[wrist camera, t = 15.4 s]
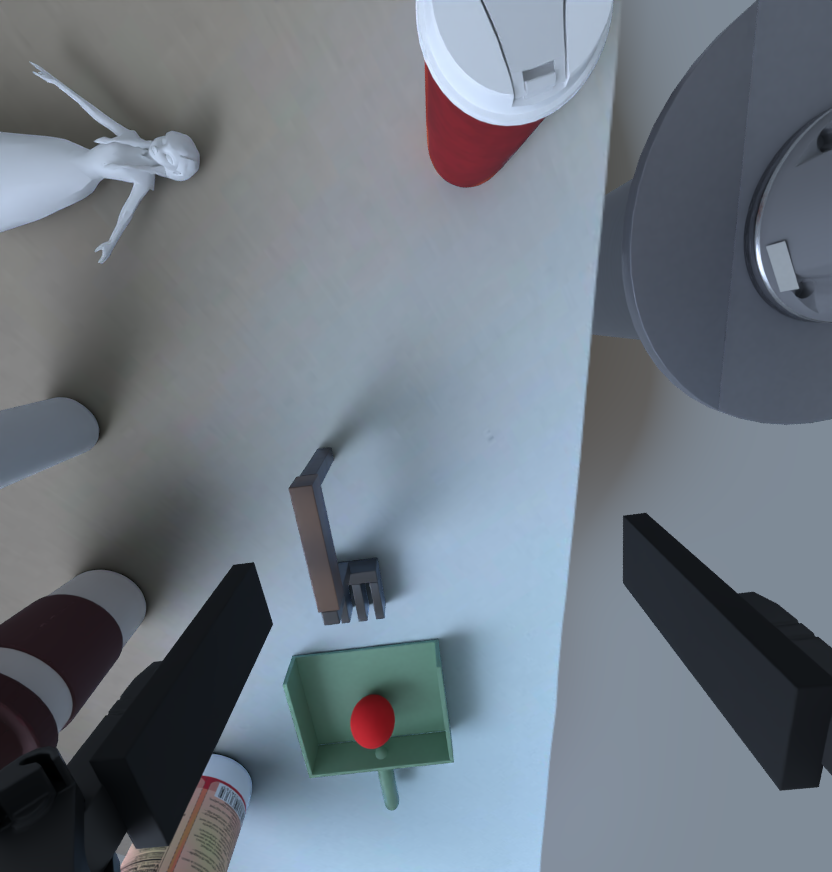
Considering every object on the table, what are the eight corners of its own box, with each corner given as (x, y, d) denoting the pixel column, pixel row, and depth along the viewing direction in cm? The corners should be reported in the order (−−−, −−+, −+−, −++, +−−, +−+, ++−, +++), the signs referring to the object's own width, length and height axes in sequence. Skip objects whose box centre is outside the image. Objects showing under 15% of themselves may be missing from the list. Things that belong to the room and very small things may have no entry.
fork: (291, 451, 34) (258, 492, 26) (357, 443, 34) (342, 481, 26) (328, 610, 39) (309, 683, 31) (385, 603, 39) (380, 675, 31)
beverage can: (49, 385, 32) (-152, 426, 21) (109, 410, 33) (-51, 463, 21) (37, 437, 33) (-158, 503, 22) (96, 461, 34) (-63, 536, 22)
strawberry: (398, 745, 37) (393, 746, 41) (396, 690, 40) (391, 695, 43) (350, 751, 36) (349, 751, 40) (351, 693, 39) (349, 698, 42)
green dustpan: (292, 655, 40) (282, 685, 37) (438, 639, 40) (440, 666, 37) (329, 794, 46) (324, 829, 43) (457, 780, 46) (461, 814, 43)
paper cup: (533, 184, 29) (645, 70, 15) (430, 219, 29) (450, 139, 16) (508, 54, 26) (612, -214, 13) (396, 95, 27) (386, -123, 13)
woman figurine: (-183, 55, 22) (150, 17, 23) (-91, 98, 26) (186, 65, 27) (-77, 280, 25) (210, 240, 26) (-12, 285, 30) (233, 251, 30)
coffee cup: (179, 631, 39) (46, 814, 25) (85, 650, 40) (-99, 841, 25) (136, 544, 36) (-42, 695, 22) (35, 566, 37) (-204, 728, 22)
